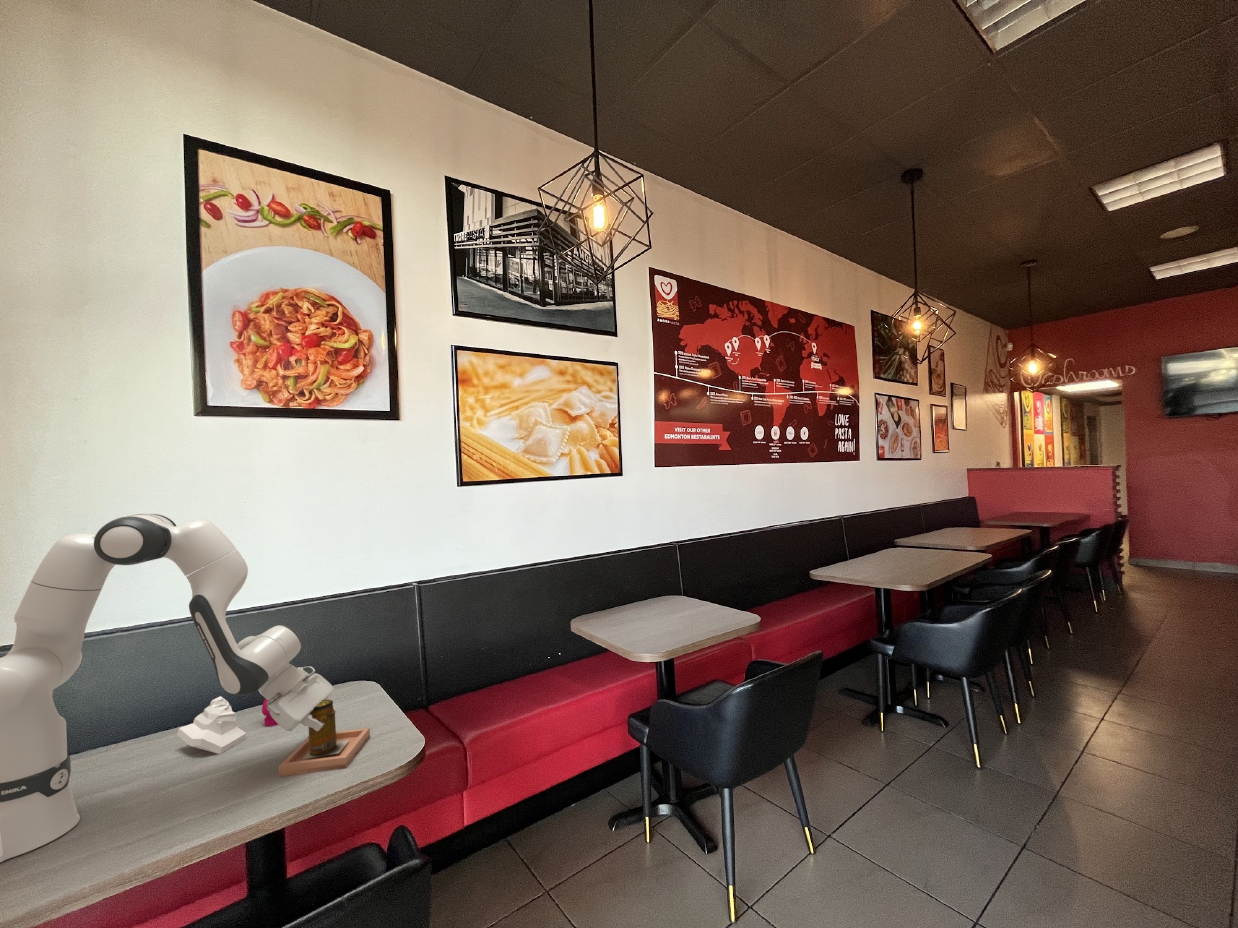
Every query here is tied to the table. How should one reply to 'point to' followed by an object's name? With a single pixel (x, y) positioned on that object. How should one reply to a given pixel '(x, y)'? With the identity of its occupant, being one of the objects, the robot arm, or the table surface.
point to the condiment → (324, 732)
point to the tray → (326, 762)
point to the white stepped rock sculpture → (213, 728)
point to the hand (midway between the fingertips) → (328, 720)
